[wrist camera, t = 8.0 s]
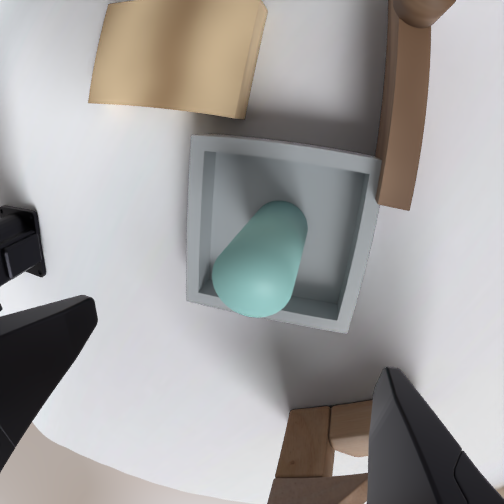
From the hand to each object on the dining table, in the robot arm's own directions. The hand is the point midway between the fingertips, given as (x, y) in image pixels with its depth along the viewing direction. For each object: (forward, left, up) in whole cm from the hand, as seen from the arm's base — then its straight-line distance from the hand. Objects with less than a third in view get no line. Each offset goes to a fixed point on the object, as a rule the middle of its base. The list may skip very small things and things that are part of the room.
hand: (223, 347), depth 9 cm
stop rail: (+5, +9, -12) cm, 16 cm away
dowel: (0, 0, -11) cm, 11 cm away
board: (-8, +10, -12) cm, 17 cm away
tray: (0, 0, -12) cm, 12 cm away
